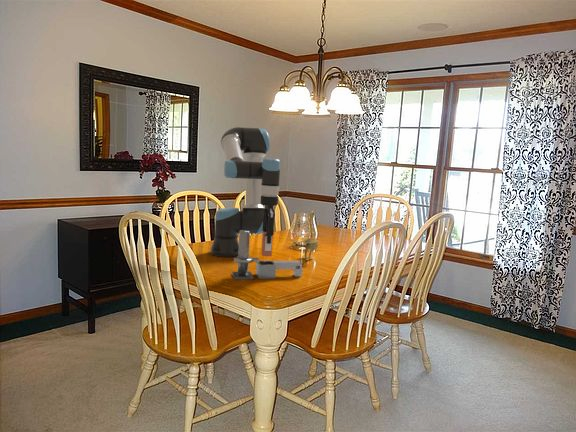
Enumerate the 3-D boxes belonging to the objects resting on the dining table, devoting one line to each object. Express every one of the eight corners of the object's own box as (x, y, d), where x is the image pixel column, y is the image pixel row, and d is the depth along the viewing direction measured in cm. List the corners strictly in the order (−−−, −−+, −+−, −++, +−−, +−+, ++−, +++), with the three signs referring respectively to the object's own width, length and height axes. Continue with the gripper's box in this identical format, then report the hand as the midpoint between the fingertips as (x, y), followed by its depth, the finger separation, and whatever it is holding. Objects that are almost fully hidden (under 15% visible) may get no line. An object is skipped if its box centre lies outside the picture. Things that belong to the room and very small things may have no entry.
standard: (232, 274, 196) (233, 229, 193) (255, 273, 199) (257, 229, 196) (234, 279, 189) (236, 232, 186) (258, 279, 191) (261, 233, 188)
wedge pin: (261, 254, 196) (262, 231, 194) (269, 254, 197) (271, 231, 195) (263, 256, 192) (264, 233, 191) (271, 256, 193) (272, 233, 192)
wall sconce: (302, 255, 236) (305, 208, 232) (320, 258, 233) (323, 210, 229) (295, 262, 222) (298, 212, 218) (313, 264, 220) (317, 214, 216)
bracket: (255, 273, 199) (256, 259, 198) (298, 273, 204) (299, 259, 202) (258, 278, 192) (259, 264, 191) (303, 278, 197) (304, 263, 196)
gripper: (282, 198, 183) (279, 254, 187) (274, 193, 199) (271, 245, 203) (264, 197, 182) (261, 254, 185) (257, 192, 197) (255, 245, 201)
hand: (266, 249), depth 194 cm, fingers closed on wedge pin, 4 cm apart
